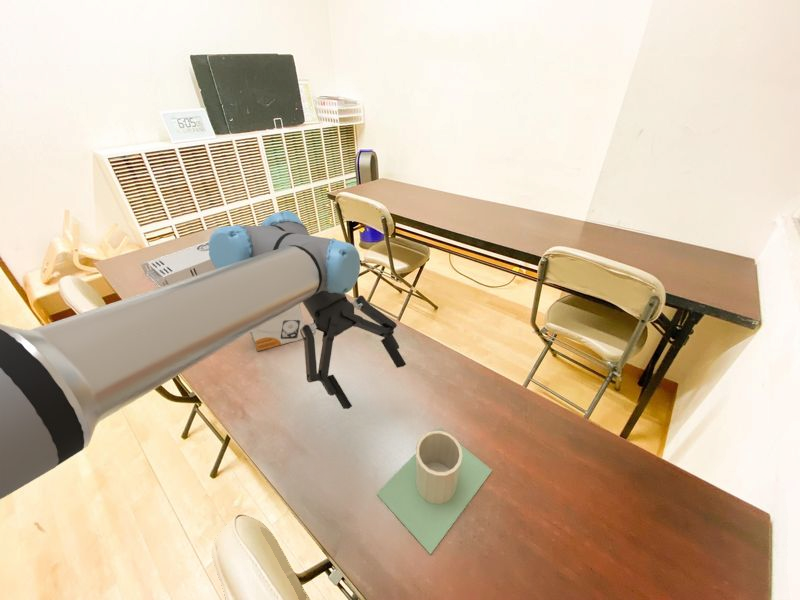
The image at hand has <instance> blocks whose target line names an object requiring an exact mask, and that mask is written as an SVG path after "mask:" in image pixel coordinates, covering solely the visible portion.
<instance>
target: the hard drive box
mask: <svg viewBox="0 0 800 600" xmlns="http://www.w3.org/2000/svg"><path fill="white" fill-rule="evenodd" d="M305 325H306V324H305V321H304V316H303V311H302V307H301V303H300V304H298V305H296V306H295V307H293V308H291V309H289V310H288V311H286V312H284V313H283V314H281V315H279V316H278V317H276V318H274V319H273V320H271V321H269V322H267V323H266V324H264V325H262V326H261V327H259V328H257V329H256V330H254V331H252V332H251V333H250V336H251V339H252V341H253V344H254V348H255V350H256V352H260V351H263V350H270V349H272V348H275V347H278V346H282V345H285V344H289V343H293V342H296V341H300V340H303V337H302V335H301V333H300V329H301V328H302V327H303V326H305Z"/></svg>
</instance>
